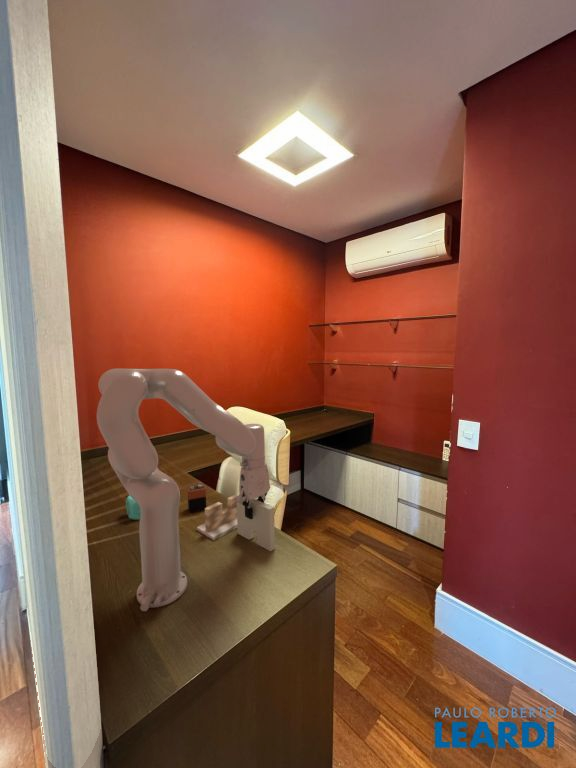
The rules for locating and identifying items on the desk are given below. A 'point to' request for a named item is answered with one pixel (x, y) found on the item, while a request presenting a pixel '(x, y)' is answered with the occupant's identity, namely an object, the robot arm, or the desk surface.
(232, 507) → the stand
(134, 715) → the desk surface
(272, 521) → the beige rectangular panel
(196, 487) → the battery
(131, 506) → the decorative dice
